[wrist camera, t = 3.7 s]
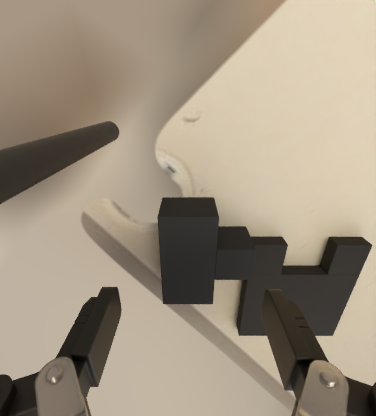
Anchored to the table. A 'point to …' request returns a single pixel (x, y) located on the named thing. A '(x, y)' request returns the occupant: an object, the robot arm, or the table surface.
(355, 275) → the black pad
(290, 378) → the robot arm
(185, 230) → the black t-shaped block
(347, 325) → the table surface
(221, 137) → the table surface
